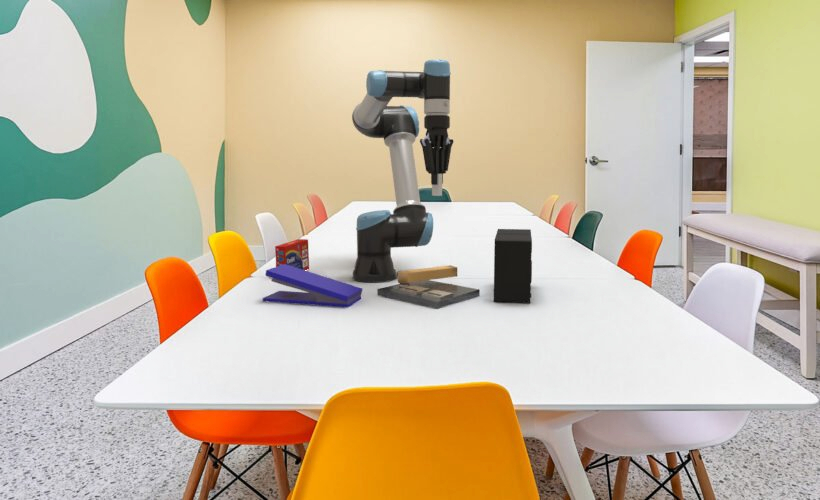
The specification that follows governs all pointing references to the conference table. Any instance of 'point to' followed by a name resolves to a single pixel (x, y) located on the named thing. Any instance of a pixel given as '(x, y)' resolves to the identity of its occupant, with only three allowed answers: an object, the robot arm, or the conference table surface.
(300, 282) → the stapler
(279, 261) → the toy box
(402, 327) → the conference table surface
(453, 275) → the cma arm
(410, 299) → the server board
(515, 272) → the speaker
